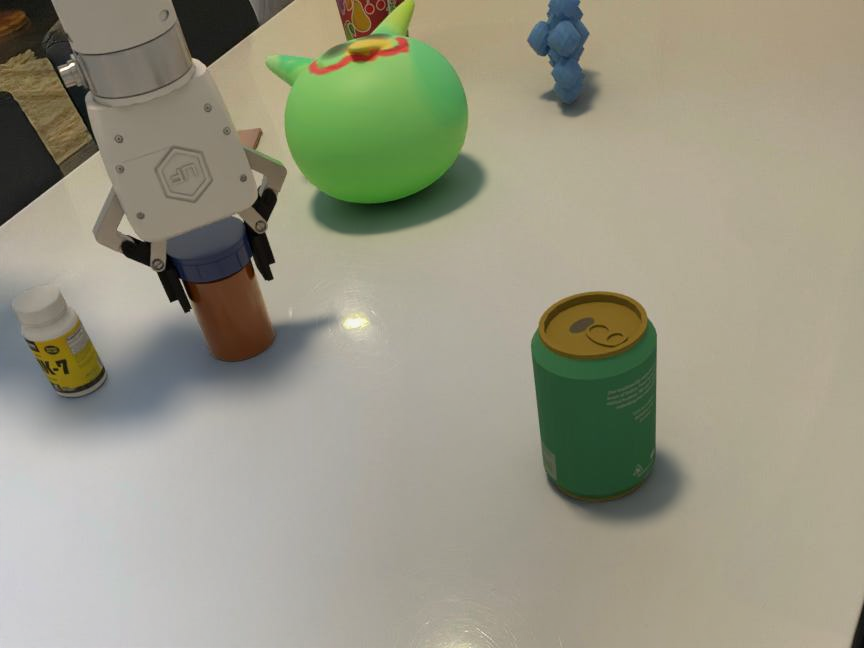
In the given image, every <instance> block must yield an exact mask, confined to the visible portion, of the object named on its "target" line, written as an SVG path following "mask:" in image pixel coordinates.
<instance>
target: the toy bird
mask: <svg viewBox="0 0 864 648" xmlns="http://www.w3.org/2000/svg"><path fill="white" fill-rule="evenodd" d="M415 3H416V2H415V0H405V1H404V2H402V3H401V4H400V5H399V6H397V7H396V8H395V9H394V10H393V11H392V12H391V13H390V14H389V15H388V16H387V17H386V18H385V19H384V20H383V22H382V23H381V24H380V25H379V26H378V27H377V28H376V29H375V30H374V31H373V32H372V33H371V34H370V35H368V36H366V37H361V38H357V39H353V40H350V41H347V40H346V41H345V42H342V43H339V44H336V45H335V46H333V47H330V48H329V49H327V50H326V51H324V52H322V53H321V54H319V55H318V56H317V57H315V58H311V57H303V56H296V55H287V54H273V55H269V56H267V57H266V58H265V60H264V64H265V66H266V68H267V69H269V71H271V72H272V73H273V74H274V75H275V76H277V77H278V78H279V79H281V81H283V82H284V83H285V84H287V85H288V86H290V87H291V88H290V91H289V93H288V96H287V99H286V103H285V109H284V134H285V139H286V143H287V147H288V150H289V153H290V155H291V157H292V159H293V161H294V163H295V165H296V166H297V168H298V170H299V171H300V172H301V174H302V175H303V176H304V178H305V179H306V180H307V181H308V182H309V183H310V184H311V185H312V186H314V187H315V188H316V189H318V190H319V191H320V192H322V193H324V194H325V195H327V196H330V197H332V198H334V199H337V200H339V201H340V200H341V201H344V202H348V203H354V204H365V205H366V204H367V205H370V204H382V203H383V204H384V203H388V202H393V201H397V200H401V199H404V198H407V197H410V196H412V195H415V194H416V193H418V192H421V191H422V190H424V189H427V188H428V187H429V186H431V185H432V184H434V183H435V182H436V181H438V180H439V179H440V178H441V177H442V176H443V175H444V174H445V173H446V172H447V171H448V170H450V168H451V167H452V165H453V164H454V162H456V160H457V158H458V157H459V155H460V153H461V151H462V148H463V146H464V144H465V141H466V136H467V133H468V127H469V106H468V99H467V95H466V90H465V88H464V85H463V83H462V80H461V77H460V76H459V75H458V72H457V71H456V69H455V68H454V67H453V65H452V64H451V62H450V61H449V60H448V59H447V58H446V56H444V54H442V53H441V52H440V51H439V50H438V49H436V48H435V47H433V46H431V45H430V44H428V43H426V42H424V41H422V40H419V39H416V38H413V37H410V36H409V37H406V33H407V30H408V31H409V27H410V24H411V21H412V18H413V15H414V11H415V6H416V5H415Z"/></svg>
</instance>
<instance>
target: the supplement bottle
mask: <svg viewBox="0 0 864 648" xmlns="http://www.w3.org/2000/svg"><path fill="white" fill-rule="evenodd" d="M66 301H67V300H66V299H65V297H64V295H63V294H62V292H61V291H60V289H59V288H58V287H57V286H55V285H51V284H42V285H37V286H33V287H30V288H28V289H26V290H25V291H22V292H20V293H19V294H18V295H17V296H16V297H15V298H14V299H13V300H12V303H11V307H12V310H13V312H14V314H15V315H16V318H17V320H18V321H19V322H20V324H21V326H20V331H21V335H22V336H23V338H24V340H25V342H26V344H27V346H28V347H29V349H30V350H31V352H32V354H33V356H34V357H35V359H36V362H38V364H39V366H40V368H41V370H42V372H43V373H44V374H45V376H46V378H47V380H48V382H49V383H50V385H51V386H52V388H53V390H54V391H55V393H57V394H58V395H59V396H62V397H65V398H78V397H83V396H85V395H86V396H87V395H89V394H91V393H93V392H94V391H95V390H97V389H99V388H100V387H101V385H102V384H103V383H104V382H105V380H106V379H107V369H106V367H105V365H104V363H103V361H102V359H101V357H100V355H99V353H98V352H97V349H96V347H95V345H94V344H93V341H92V339H91V338H90V336H89V334H88V332H87V330H86V328H85V326H84V324H83V322H82V320H81V318H80V317H79V314H78V313H77V311H75V309H74V308H73V307H71V306H69V305H68V303H67V302H66Z"/></svg>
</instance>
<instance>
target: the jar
mask: <svg viewBox="0 0 864 648" xmlns="http://www.w3.org/2000/svg"><path fill="white" fill-rule="evenodd" d="M181 284H182V286H183V288H184V291H185V293H186V295H187V298H188V300H189V302H190V305H191V307H192V311H193V313H194V316H195V318H196V320H197V323H198V326H199V329H200V331H201V333H202V336H203V338H204V341H205V343H206V346H207V349H208V351H209V353H210V354H211V355H212V356H213V357H214V358H216V359H218V360H221V361H226V362H239V361H244V360H247V359H251V358H253V357H256V356H258V355H260V354H261V353H263V352H264V351H266V350H267V349H268V348H269V347H270V346H271V345H272V343H273V342H274V340H275V335H276V334H275V333H276V331H275V329H274V326H273V323H272V320H271V317H270V314H269V311H268V308H267V304H266V301H265V298H264V296H263V292H262V289H261V287H260V283H259V280H258V276H257V275H256V271H255V268H254V264H253V261H252V258H251V259H250V261H249V262H248V263H247V264H246V265H245V266H244V267H243V268H242V269H240V270H239V271H237V272H235V273H234V274H231V275H229V276H227V277H224V278H221V279H218V280H214V281H209V282H188V281H184V280H181Z"/></svg>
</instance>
